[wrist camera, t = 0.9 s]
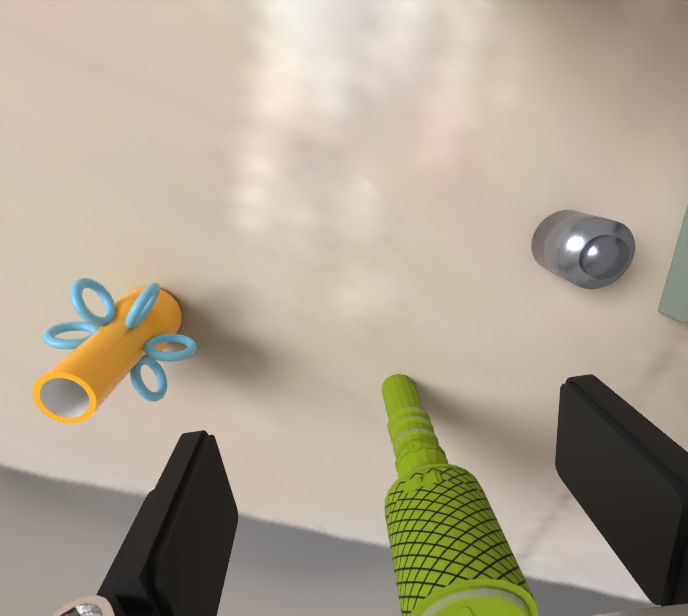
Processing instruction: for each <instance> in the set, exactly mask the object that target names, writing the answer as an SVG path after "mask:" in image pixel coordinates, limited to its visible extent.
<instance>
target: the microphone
mask: <svg viewBox="0 0 688 616" xmlns="http://www.w3.org/2000/svg"><path fill="white" fill-rule="evenodd" d="M382 393H383V398H384V402H385V406H386V410H387V414H388V419H389V421H388V425H387V426H388V430H389V434H390V438H391V442H392V444H393V445H394V446H393V449H394V454H395V456H396V458H397V459H396V463H395V465H396V469H397V472H398V477H399V479H397V480H396V481H395V482H394V484H393V485H392V486H391V488H390V489H389V490H388V493H387V496H386V498H385V518H386V524H387V530H388V536H389V541H390V547H391V553H392V558H393V565H394V571H395V576H396V582H397V588H398V594H399V600H400V606H401V612H402V616H538V610H537V605H536V602H535V600H534V597H533V595H532V593H531V591H530V589H529V587H528V585H527V583H526V580H525V578H524V576H523V574H522V572H521V570H520V568H519V566H518V563H517V561H516V559H515V557H514V555H513V553H512V551H511V548H510V546H509V544H508V542H507V540H506V538H505V536H504V534H503V531H502V529H501V527H500V525H499V523H498V521H497V519H496V517H495V514H494V512H493V510H492V508H491V506H490V504H489V502H488V499H487V497H486V495H485V493H484V491H483V489H482V488H481V486H480V484H479V482H478V481H477V479H476V478H475V476H473V475H472V474H471V473H470V472H468V471H467V470H465V469H463V468H461V467H458V466H456V465H450V464H448V460H447V458H446V455H445V452H444V451H443V450H442V448H441V447H440V446H439V443H438V438H437V437H436V436H435V434H434V428H433V425H432V424H431V422H430V417H429V415H428V414H427V413H426V411H425V410H424V409H423V407H422V404H421V402H420V399H419V396H418V394H417V391H416V389H415V387H414V384H413V382H412V380H411V379H410V378H409V377H407V376H405V375H400V374H397V375H393V376H391V377H389V378H387V379H386V380H385V382H384V383H383V386H382Z"/></svg>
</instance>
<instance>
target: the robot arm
mask: <svg viewBox="0 0 688 616" xmlns="http://www.w3.org/2000/svg"><path fill="white" fill-rule="evenodd" d="M555 465H556V470H557V472H558V475H559V476H560V478H561V479H562V481H563V482H564V484H565V485H566V486H567V488H568V489H569V490H570V492H571V493H572V495H573V496H574V497H575V499H576V500H577V501H578V503H579V504H580V505H581V507H582V508H583V510H584V511H585V512H586V514H587V515H588V516H589V518H590V519H591V521H592V522H593V523H594V525H595V526H596V527H597V529H598V530H599V532H600V533H601V534H602V536H603V537H604V538H605V540H606V541H607V542H608V544H609V545H610V547H611V548H612V549H613V551H614V552H615V553H616V555H617V556H618V558H619V559H620V560H621V562H622V563H623V564H624V566H625V567H626V569H627V570H628V571H629V573H630V574H631V575H632V577H633V578H634V579H635V581H636V582H637V584H638V585H639V586H640V588H641V589H642V590H643V592H644V593H645V595H646V596H647V597H648V598H649V600H650V601H651V602H652V603H654V604H655V605H661V607H654V608H645V609H638V610H630V611H623V612H616V613H609V614H601V615H594V616H688V452H687V451H685V450H684V449H683V448H682V447H680V446H679V445H678V444H677V443H676V442H674V441H673V440H672V439H671V438H670V437H668V436H667V435H666V434H665V433H663V432H662V431H661V430H660V429H659V428H657V427H656V426H655V425H654V424H653V423H651V422H650V421H649V420H648V419H646V418H645V417H644V416H643V415H642V414H640V413H639V412H638V411H637V410H636V409H634V408H633V407H632V406H631V405H629V404H628V403H627V402H626V401H625V400H623V399H622V398H621V397H620V396H619V395H617V394H616V393H615V392H614V391H612V390H611V389H610V388H609V387H608V386H606V385H605V384H604V383H603V382H602V381H600V380H599V379H598V378H597V377H595V376H594V375H583V376H576V377H570V378H568V379H567V380H566V384H562V385H561V388H560V400H559V415H558V429H557V444H556V459H555ZM237 523H238V511H237V507H236V503H235V500H234V497H233V494H232V490H231V487H230V484H229V481H228V478H227V474H226V471H225V468H224V465H223V462H222V458H221V455H220V452H219V449H218V445H217V442H216V439H215V437H214V435H208V433H207V432H206V431H204V430H203V431H196V432H189V433H184V434H182V435H181V437H180V439H179V441H178V443H177V445H176V447H175V449H174V451H173V453H172V455H171V457H170V459H169V461H168V463H167V465H166V467H165V469H164V471H163V473H162V475H161V477H160V479H159V481H158V483H157V485H156V487H155V489H154V490H152V491H151V492H149V494H148V495H147V497H146V499H145V501H144V502H143V505H142V506H141V508H140V510H139V512H138V514H137V517H136V518H135V520H134V522H133V524H132V526H131V528H130V530H129V532H128V534H127V536H126V538H125V540H124V542H123V544H122V546H121V548H120V550H119V552H118V554H117V556H116V557H115V559H114V561H113V563H112V565H111V567H110V569H109V571H108V573H107V575H106V577H105V579H104V581H103V583H102V585H101V587H100V589H99V591H98V593H97V595H96V596H85V597H83V598H80V599H77V600H74V601H72V602H71V603H69V604H67V605H65V606H64V607H62V608H60V610H58V611H57V612H56V613H54V614H53V615H52V616H217V611H218V607H219V602H220V598H221V594H222V589H223V585H224V581H225V576H226V572H227V568H228V562H229V559H230V554H231V550H232V545H233V541H234V537H235V532H236V528H237Z"/></svg>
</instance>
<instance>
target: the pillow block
mask: <svg viewBox="0 0 688 616" xmlns="http://www.w3.org/2000/svg"><path fill="white" fill-rule="evenodd" d="M658 311H659V312H661V313H663V314H665V315H667V316H669V317H671V318H673V319H675V320H677V321H679V322H688V207H687V211H686V214H685V218H684V221H683V225H682V228H681V232H680V235H679V239H678V242H677V246H676V249H675V253H674V256H673V260H672V264H671V267H670V271H669V274H668V278H667V281H666V285H665V288H664V292H663V295H662V299H661V302H660V306H659V309H658Z"/></svg>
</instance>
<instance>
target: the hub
mask: <svg viewBox="0 0 688 616" xmlns="http://www.w3.org/2000/svg"><path fill="white" fill-rule="evenodd" d="M634 251H635V241H634V237H633V235H632V233H631V231H630V230H629V229H628V228H627V227H626V226H625V225H624V224H622V223H620V222H617V221H613V220H609V219H605V218H601V217H597V216H593V215H589V214H585V213H581V212H577V211H573V210H563V211H558V212H556V213H553V214H551V215H550V216H548V217H547V218H546V219H544V220H543V221H542V222H541V223H540V225H539V226H538V228H537V229H536V231H535V233H534V235H533V239H532V253H533V256H534V258H535V260H536V261H537V263H538V264H539V265H541V266H542V267H544V268H546V269H548V270H550V271H551V272H553V273H555V274H557V275H559V276H561V277H563V278H564V279H566V280H568V281H570V282H572V283H574V284H576V285H577V286H579V287H582V288H586V289H597V288H602V287H605V286H607V285H609V284H611V283H613V282H614V281H616V280H617V279H618V278H620V277H621V276H622V275H623V274H624V272H625V271H626V270H627V269H628V267H629V265H630V264H631V261H632V259H633V256H634Z"/></svg>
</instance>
